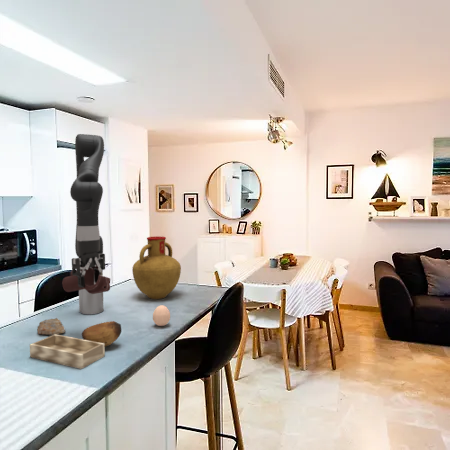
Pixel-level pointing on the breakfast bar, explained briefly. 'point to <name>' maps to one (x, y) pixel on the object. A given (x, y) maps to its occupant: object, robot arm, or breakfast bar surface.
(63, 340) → the wooden tray
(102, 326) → the potato
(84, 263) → the robot arm
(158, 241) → the vase
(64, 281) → the bracket
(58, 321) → the rock
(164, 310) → the egg
